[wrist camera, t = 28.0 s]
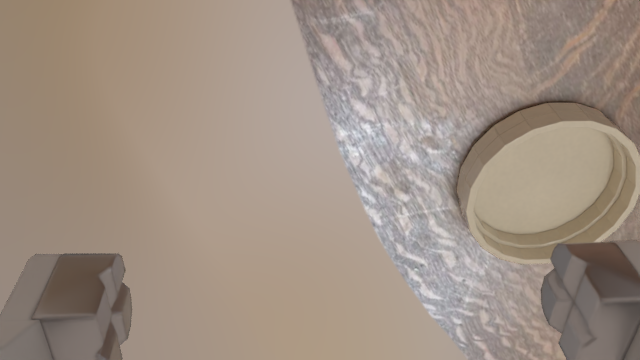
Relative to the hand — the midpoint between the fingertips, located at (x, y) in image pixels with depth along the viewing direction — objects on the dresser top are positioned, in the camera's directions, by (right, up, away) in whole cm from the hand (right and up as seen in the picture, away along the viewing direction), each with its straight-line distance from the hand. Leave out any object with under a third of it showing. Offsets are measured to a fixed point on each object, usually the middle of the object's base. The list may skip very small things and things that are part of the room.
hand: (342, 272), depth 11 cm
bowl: (+18, +2, +40) cm, 44 cm away
